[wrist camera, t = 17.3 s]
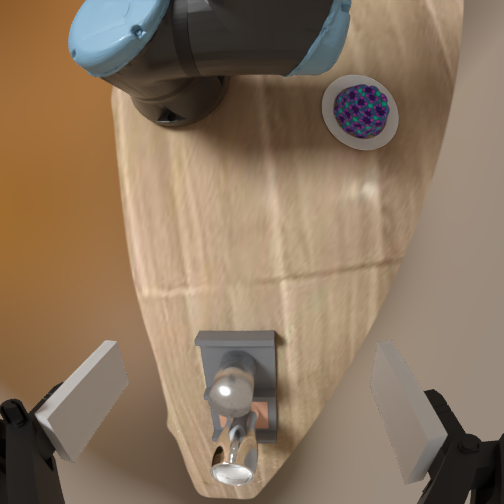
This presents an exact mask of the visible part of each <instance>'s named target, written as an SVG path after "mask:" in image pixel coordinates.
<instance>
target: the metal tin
mask: <svg viewBox="0 0 504 504" xmlns="http://www.w3.org/2000/svg"><path fill="white" fill-rule="evenodd" d="M256 368H257V364H256V361H255V359H254V358H253V356H252V355H250V354H249V353H247V352H245V351H242V350H232V351H229V352H227V353H225V354H224V355H223V356H222V358H221V361H220V364H219V367H218V370H217V373H216V376H215V379H214V382H213V385H212V388H211V391H210V394H209V397H208V403H209V406H210V407H211V409H212V410H213V411H214V412H215V413H217V414H219V415H221V416H223V417H227V418H238V417H242V416H244V415H246V414H247V413H248V412H249V411H250V409H251V405H252V398H253V390H254V383H255V375H256Z"/></svg>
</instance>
